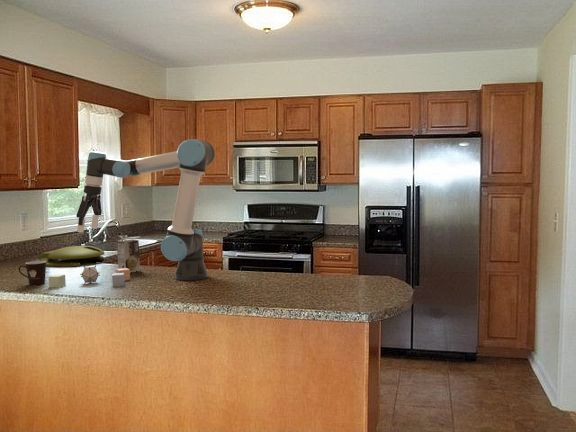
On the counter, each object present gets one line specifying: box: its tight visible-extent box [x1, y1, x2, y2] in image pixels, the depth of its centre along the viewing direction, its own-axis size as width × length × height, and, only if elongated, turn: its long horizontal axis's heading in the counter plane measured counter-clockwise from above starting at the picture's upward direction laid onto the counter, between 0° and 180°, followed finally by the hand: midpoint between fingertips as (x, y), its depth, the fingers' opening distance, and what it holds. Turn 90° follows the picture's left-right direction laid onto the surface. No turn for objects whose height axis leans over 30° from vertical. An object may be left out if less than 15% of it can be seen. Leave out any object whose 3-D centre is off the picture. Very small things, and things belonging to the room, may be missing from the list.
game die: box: [79, 265, 101, 285], centre depth 245 cm, size 9×8×10 cm
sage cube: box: [48, 274, 67, 288], centre depth 239 cm, size 5×5×5 cm
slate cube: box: [111, 272, 125, 287], centre depth 240 cm, size 5×5×5 cm
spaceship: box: [36, 245, 105, 268], centre depth 309 cm, size 35×31×10 cm
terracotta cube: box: [115, 268, 131, 281], centre depth 253 cm, size 5×5×5 cm
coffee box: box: [116, 239, 141, 274], centre depth 273 cm, size 9×6×16 cm
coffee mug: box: [17, 260, 47, 286], centre depth 246 cm, size 12×9×10 cm
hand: (87, 230), depth 249 cm, fingers open, 13 cm apart
